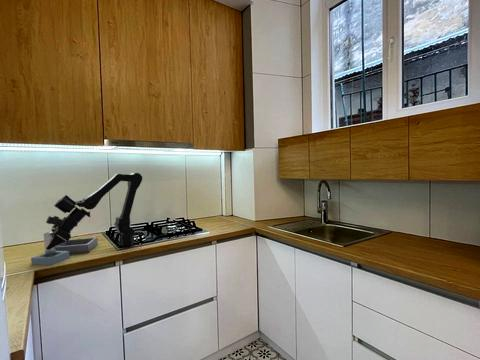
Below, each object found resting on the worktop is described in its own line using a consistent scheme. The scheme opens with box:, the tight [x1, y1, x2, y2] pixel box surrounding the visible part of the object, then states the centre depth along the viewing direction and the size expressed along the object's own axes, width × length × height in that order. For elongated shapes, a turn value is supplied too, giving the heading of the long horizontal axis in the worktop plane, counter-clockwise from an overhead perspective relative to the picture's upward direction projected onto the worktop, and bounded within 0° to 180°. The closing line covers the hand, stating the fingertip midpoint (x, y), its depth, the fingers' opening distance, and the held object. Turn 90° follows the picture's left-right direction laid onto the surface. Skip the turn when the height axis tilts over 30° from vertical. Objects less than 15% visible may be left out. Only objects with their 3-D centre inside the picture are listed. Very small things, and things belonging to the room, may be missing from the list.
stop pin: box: [43, 231, 56, 257], centre depth 120 cm, size 4×4×13 cm
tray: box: [56, 236, 99, 255], centre depth 137 cm, size 16×14×4 cm
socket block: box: [30, 251, 71, 266], centre depth 121 cm, size 10×10×3 cm
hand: (46, 247), depth 120 cm, fingers open, 9 cm apart
